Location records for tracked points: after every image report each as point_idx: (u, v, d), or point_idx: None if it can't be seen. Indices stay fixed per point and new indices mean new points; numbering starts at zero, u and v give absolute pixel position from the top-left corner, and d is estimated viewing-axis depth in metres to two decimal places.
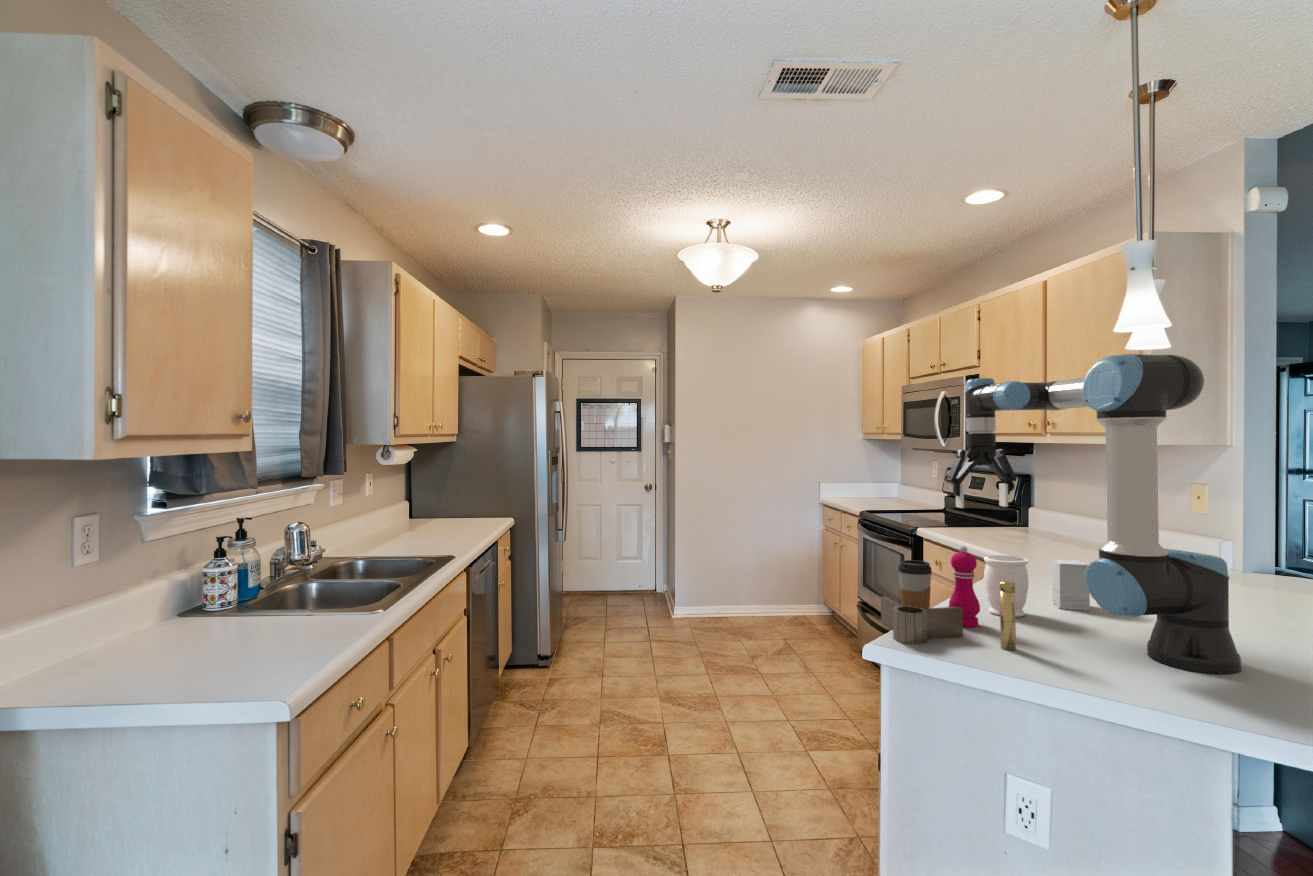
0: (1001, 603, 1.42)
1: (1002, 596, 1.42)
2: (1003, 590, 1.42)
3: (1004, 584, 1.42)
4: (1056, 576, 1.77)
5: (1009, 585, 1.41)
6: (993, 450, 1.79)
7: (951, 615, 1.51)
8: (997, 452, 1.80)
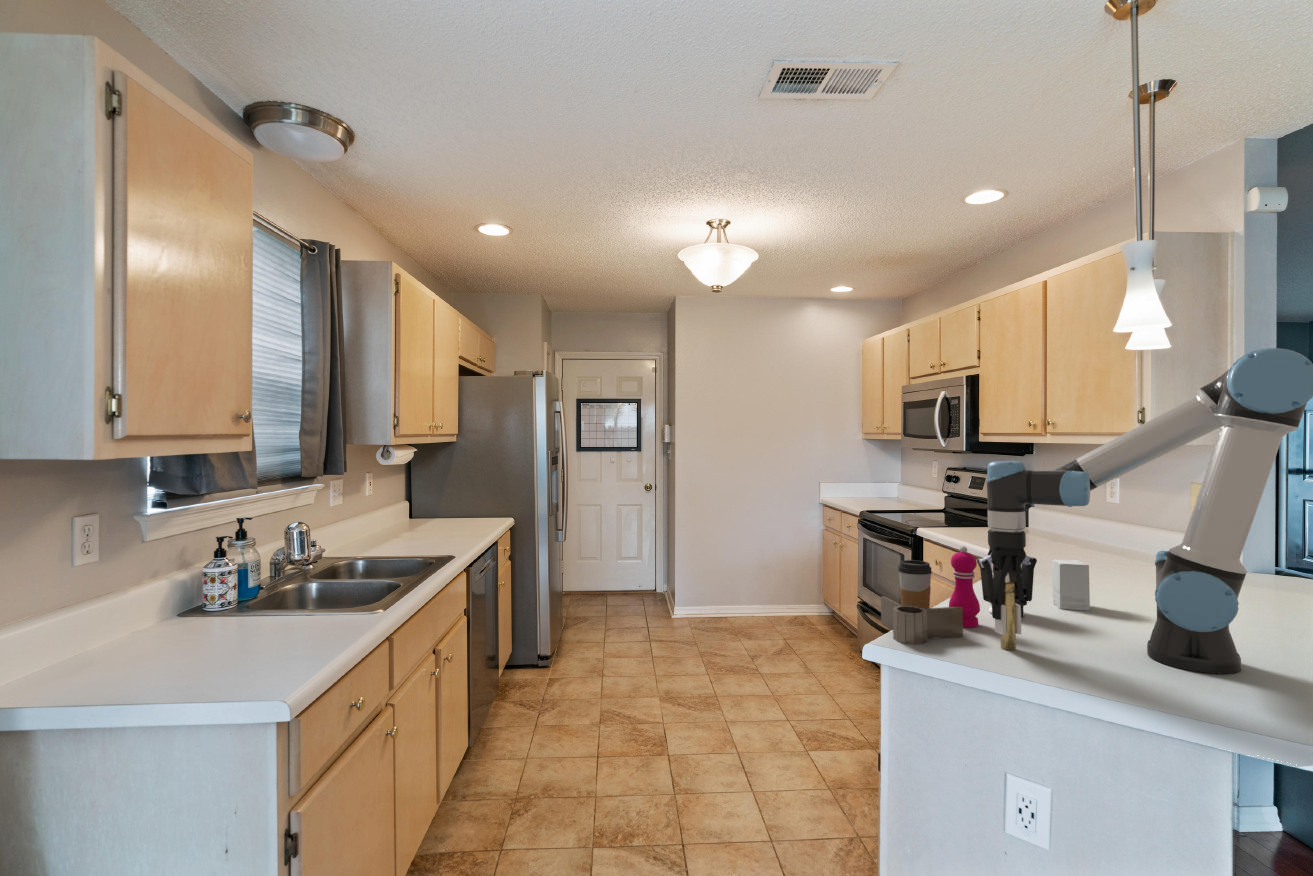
0: None
1: None
2: None
3: None
4: (1056, 576, 1.77)
5: (1009, 585, 1.41)
6: (1024, 552, 1.42)
7: (951, 615, 1.51)
8: (1026, 558, 1.43)
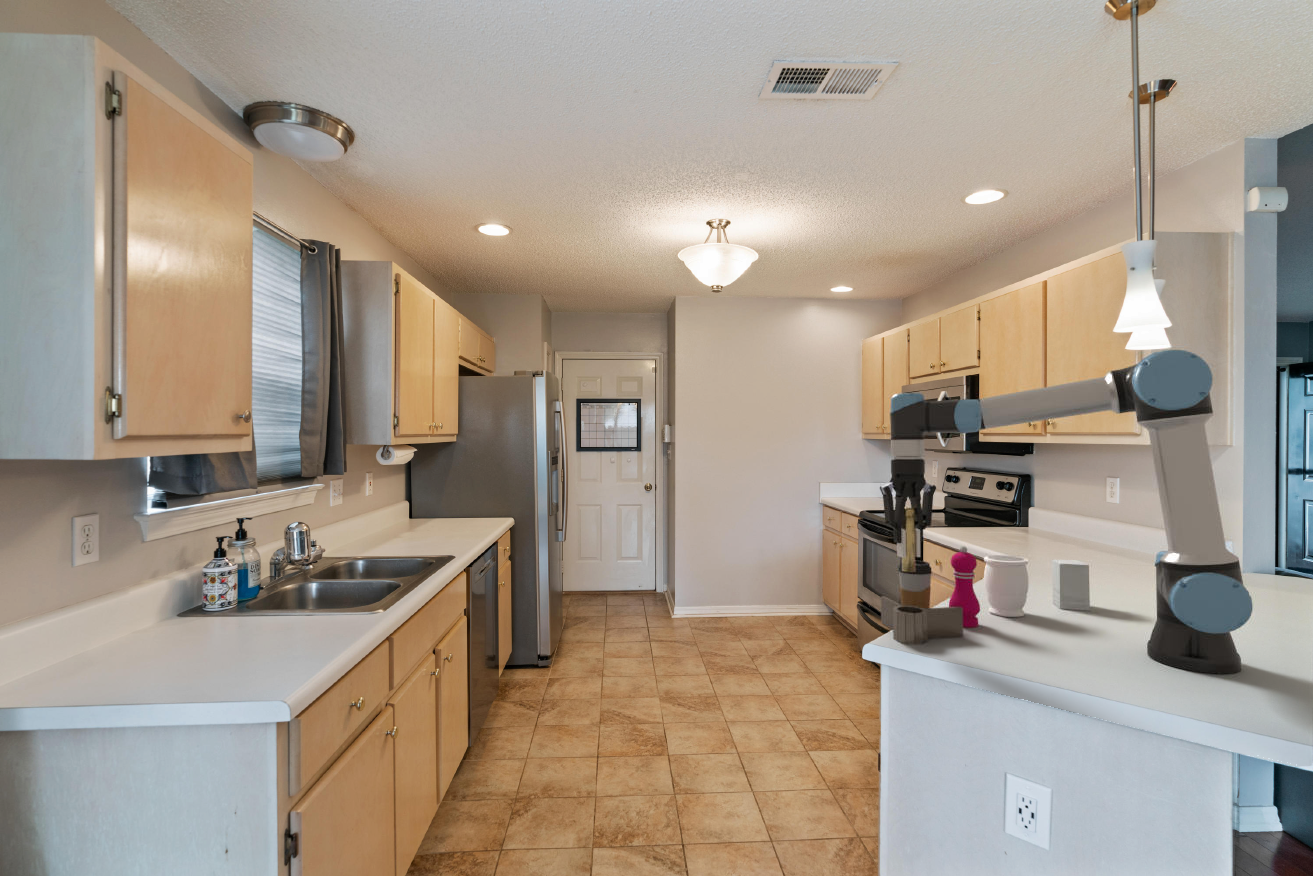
0: (902, 528, 1.50)
1: (903, 521, 1.50)
2: None
3: None
4: (1056, 576, 1.77)
5: (909, 510, 1.49)
6: (923, 479, 1.50)
7: (951, 615, 1.51)
8: (926, 485, 1.50)
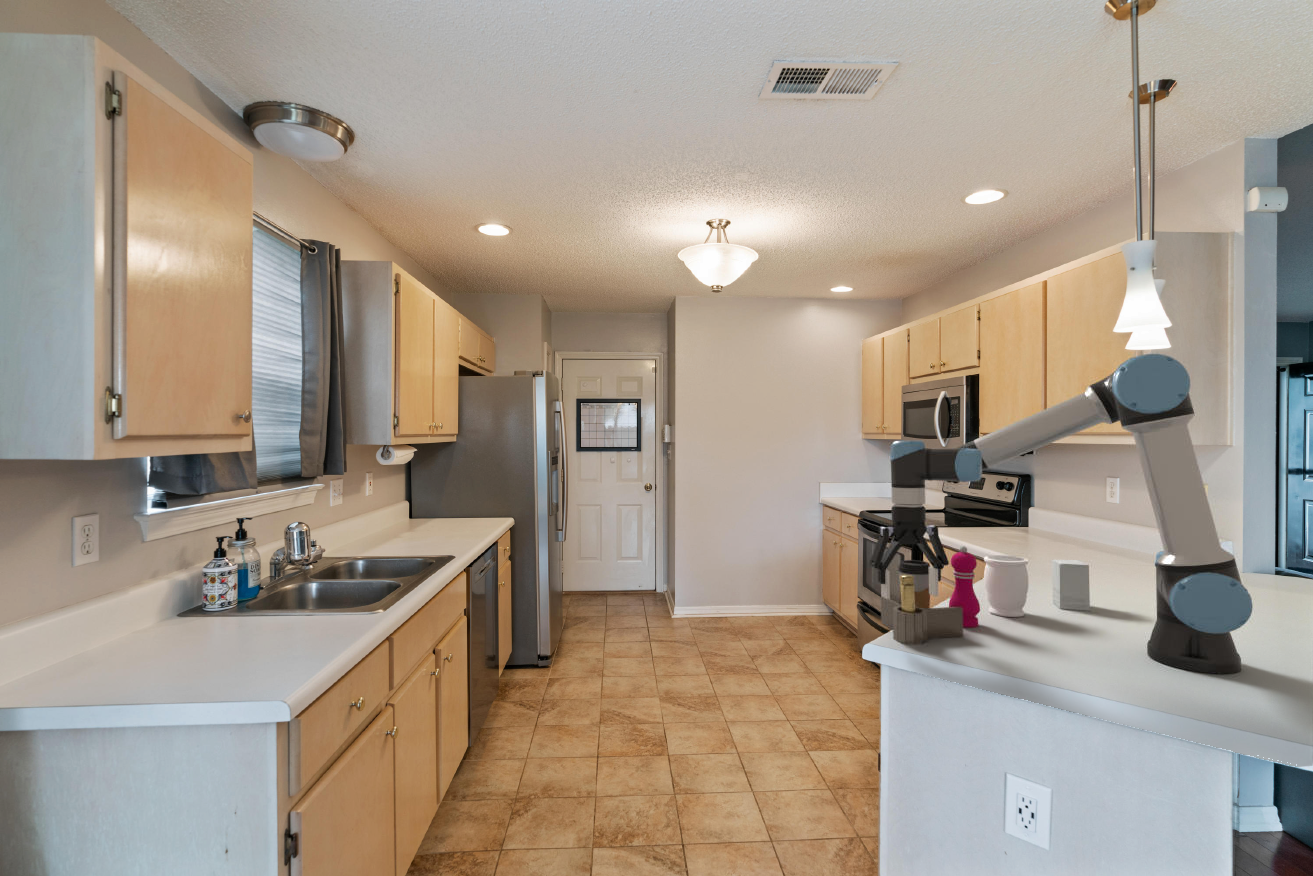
0: (901, 596, 1.50)
1: (902, 590, 1.50)
2: (902, 584, 1.49)
3: (903, 578, 1.49)
4: (1056, 576, 1.77)
5: (908, 578, 1.49)
6: (923, 526, 1.50)
7: (951, 615, 1.51)
8: (928, 529, 1.50)
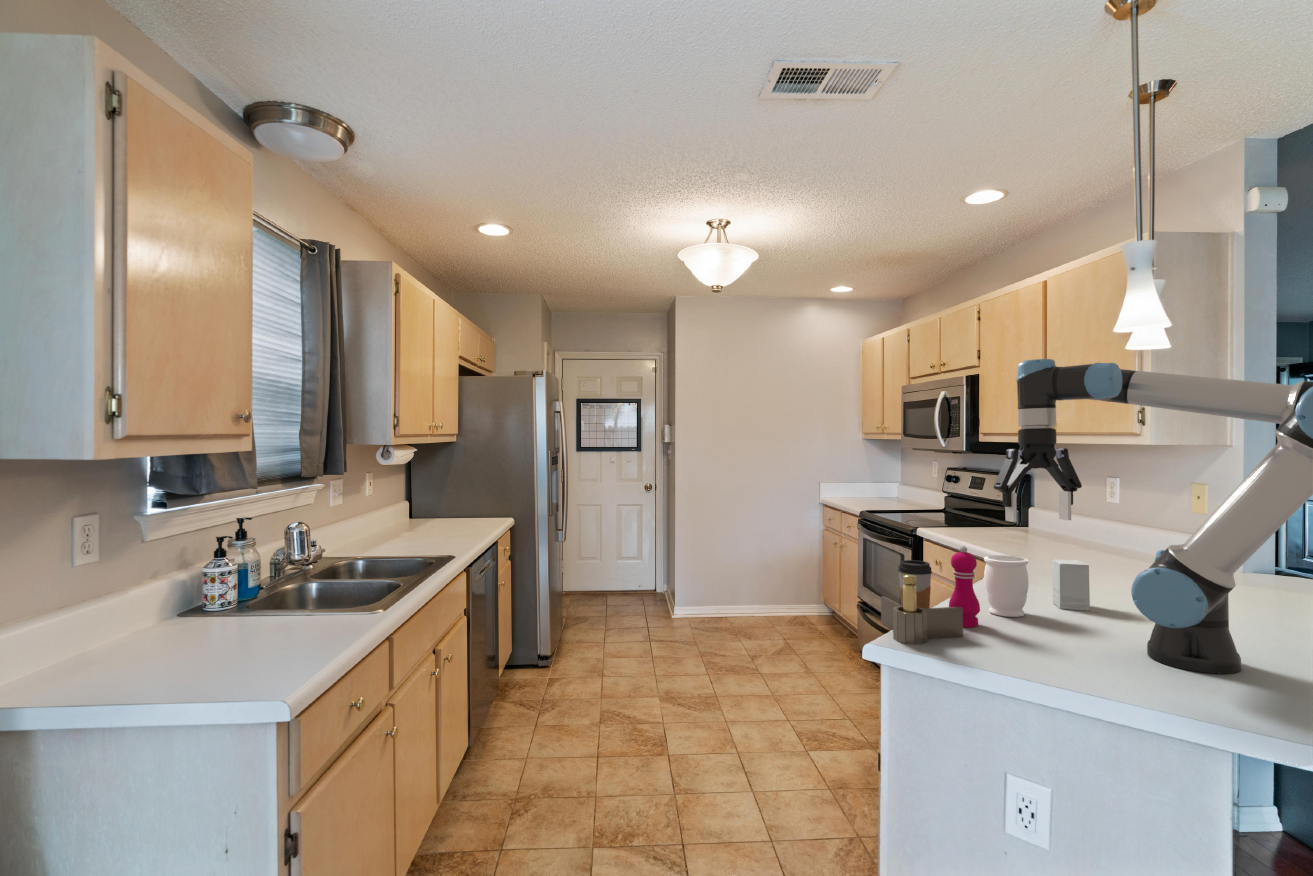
0: (903, 596, 1.50)
1: (904, 589, 1.50)
2: (905, 583, 1.50)
3: (906, 578, 1.49)
4: (1056, 576, 1.77)
5: (910, 578, 1.49)
6: (1053, 449, 1.43)
7: (951, 615, 1.51)
8: (1057, 452, 1.44)
